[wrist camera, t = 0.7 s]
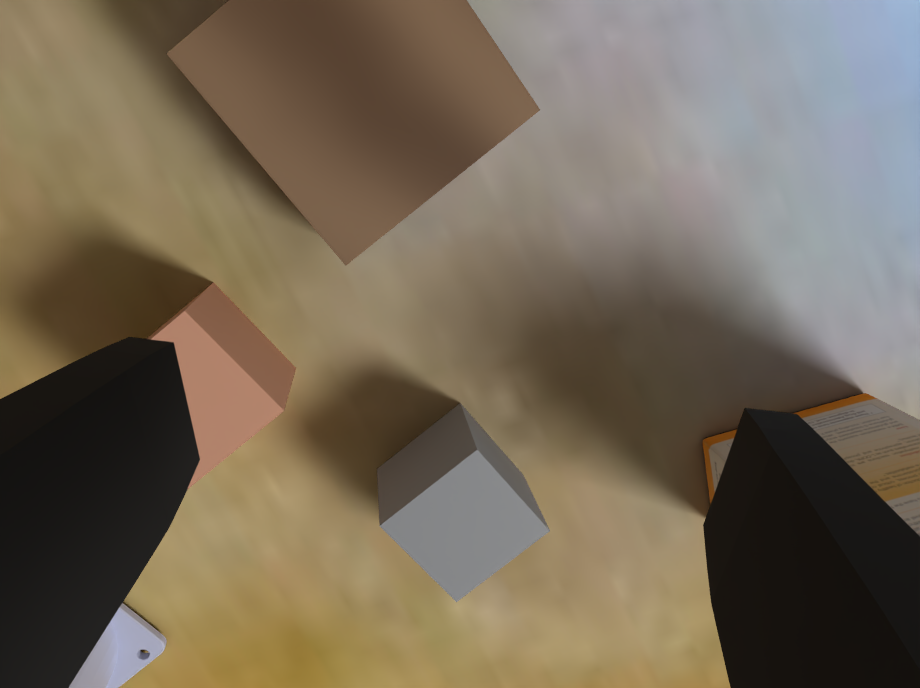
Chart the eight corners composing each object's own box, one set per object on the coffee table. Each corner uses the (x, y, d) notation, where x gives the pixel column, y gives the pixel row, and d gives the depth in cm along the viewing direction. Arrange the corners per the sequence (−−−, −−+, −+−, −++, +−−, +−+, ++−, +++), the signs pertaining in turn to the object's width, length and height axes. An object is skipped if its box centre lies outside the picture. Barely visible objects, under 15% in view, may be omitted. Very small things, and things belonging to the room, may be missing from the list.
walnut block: (348, 246, 26) (345, 265, 22) (197, 66, 24) (165, 53, 20) (513, 113, 26) (539, 109, 22) (377, -86, 23) (380, -129, 19)
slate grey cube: (443, 536, 30) (456, 601, 26) (377, 467, 29) (379, 525, 25) (523, 474, 30) (549, 530, 26) (460, 402, 28) (477, 449, 24)
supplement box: (709, 526, 32) (930, 774, 20) (697, 435, 30) (929, 642, 18) (873, 480, 32) (1189, 694, 20) (870, 388, 31) (1210, 558, 19)
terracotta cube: (211, 437, 27) (183, 492, 23) (125, 356, 26) (79, 399, 22) (296, 367, 27) (284, 410, 23) (213, 281, 26) (184, 310, 21)
